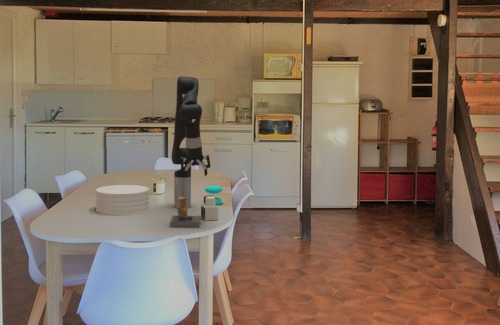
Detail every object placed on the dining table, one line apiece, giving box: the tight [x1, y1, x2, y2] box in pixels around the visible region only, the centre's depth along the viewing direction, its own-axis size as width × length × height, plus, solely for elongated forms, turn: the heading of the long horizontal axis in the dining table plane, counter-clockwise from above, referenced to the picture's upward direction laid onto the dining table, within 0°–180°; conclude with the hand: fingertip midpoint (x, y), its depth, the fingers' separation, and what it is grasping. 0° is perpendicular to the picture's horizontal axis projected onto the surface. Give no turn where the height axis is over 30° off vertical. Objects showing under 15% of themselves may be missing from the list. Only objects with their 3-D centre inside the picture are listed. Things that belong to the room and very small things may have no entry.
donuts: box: [204, 185, 223, 206], centre depth 323 cm, size 10×10×10 cm
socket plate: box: [169, 215, 202, 228], centre depth 273 cm, size 14×14×2 cm
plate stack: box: [95, 184, 150, 216], centre depth 302 cm, size 28×28×12 cm
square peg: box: [177, 197, 189, 216], centre depth 288 cm, size 5×5×10 cm
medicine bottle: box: [200, 194, 219, 222], centre depth 284 cm, size 7×7×12 cm
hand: (196, 176), depth 274 cm, fingers open, 8 cm apart
